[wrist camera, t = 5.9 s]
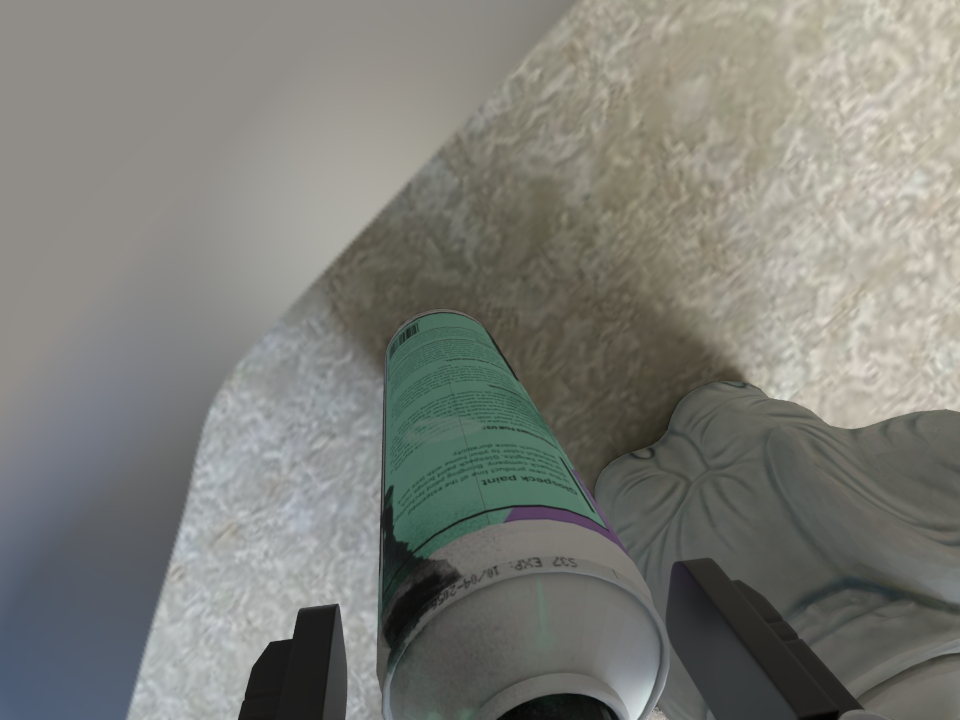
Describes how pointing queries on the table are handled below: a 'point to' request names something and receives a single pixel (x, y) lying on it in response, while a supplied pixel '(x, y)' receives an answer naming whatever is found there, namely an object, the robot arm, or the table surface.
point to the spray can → (497, 551)
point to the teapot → (809, 536)
